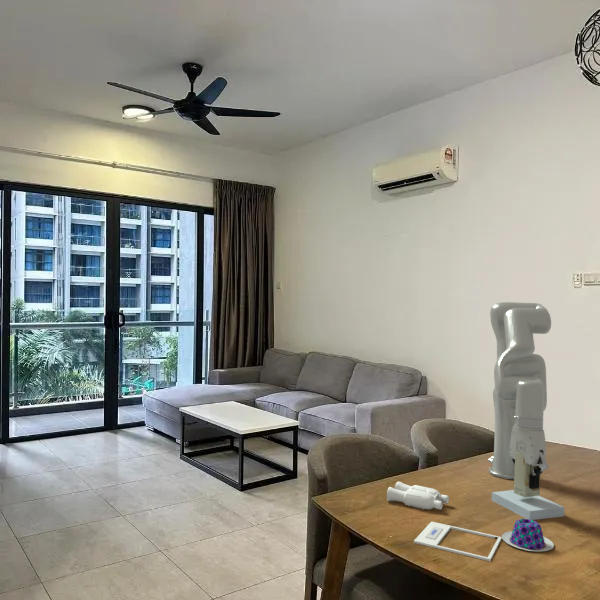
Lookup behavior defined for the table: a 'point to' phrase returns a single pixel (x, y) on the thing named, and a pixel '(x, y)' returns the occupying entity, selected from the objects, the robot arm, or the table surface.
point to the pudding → (527, 536)
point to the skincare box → (523, 478)
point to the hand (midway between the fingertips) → (527, 484)
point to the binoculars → (417, 496)
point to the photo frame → (437, 532)
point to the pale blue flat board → (528, 505)
